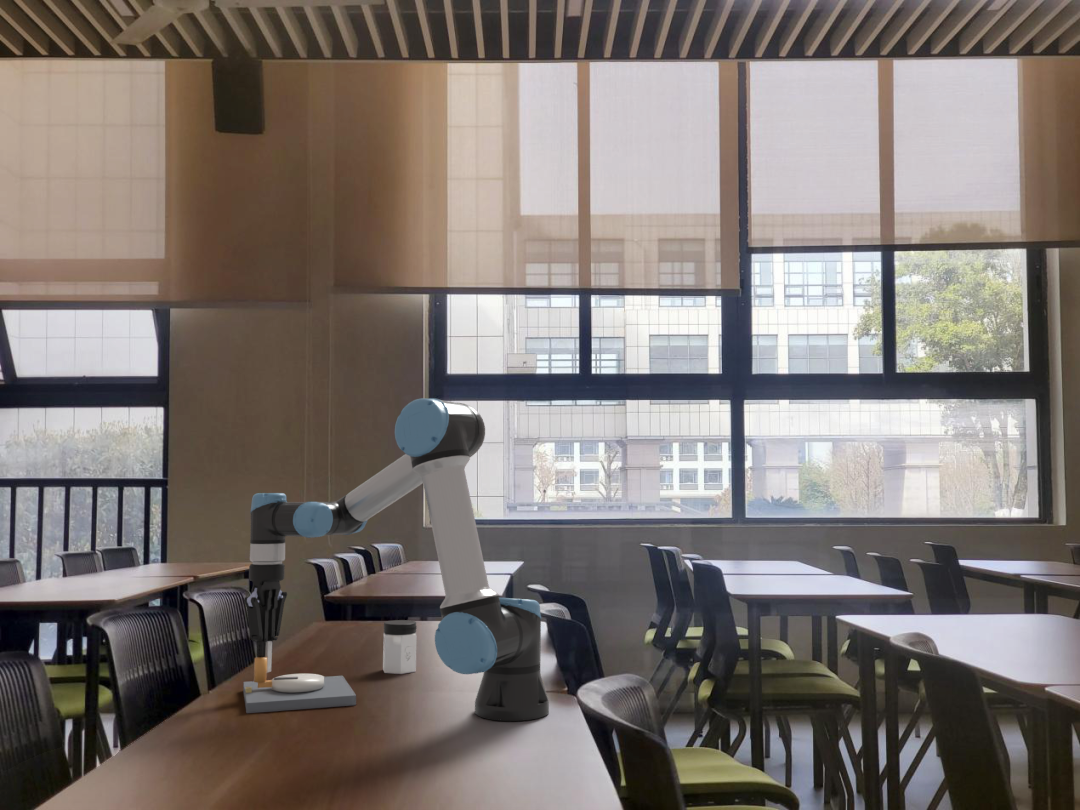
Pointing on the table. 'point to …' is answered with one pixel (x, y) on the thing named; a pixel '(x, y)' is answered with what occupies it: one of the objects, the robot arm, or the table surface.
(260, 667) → the dial
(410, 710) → the table surface
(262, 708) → the panel
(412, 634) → the jar
